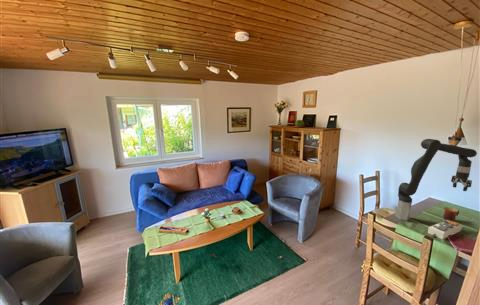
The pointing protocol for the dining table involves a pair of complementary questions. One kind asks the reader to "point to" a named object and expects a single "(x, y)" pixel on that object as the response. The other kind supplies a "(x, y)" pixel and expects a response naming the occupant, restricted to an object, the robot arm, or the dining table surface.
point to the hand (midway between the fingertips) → (459, 189)
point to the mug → (450, 213)
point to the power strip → (444, 234)
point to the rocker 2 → (453, 222)
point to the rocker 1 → (442, 227)
